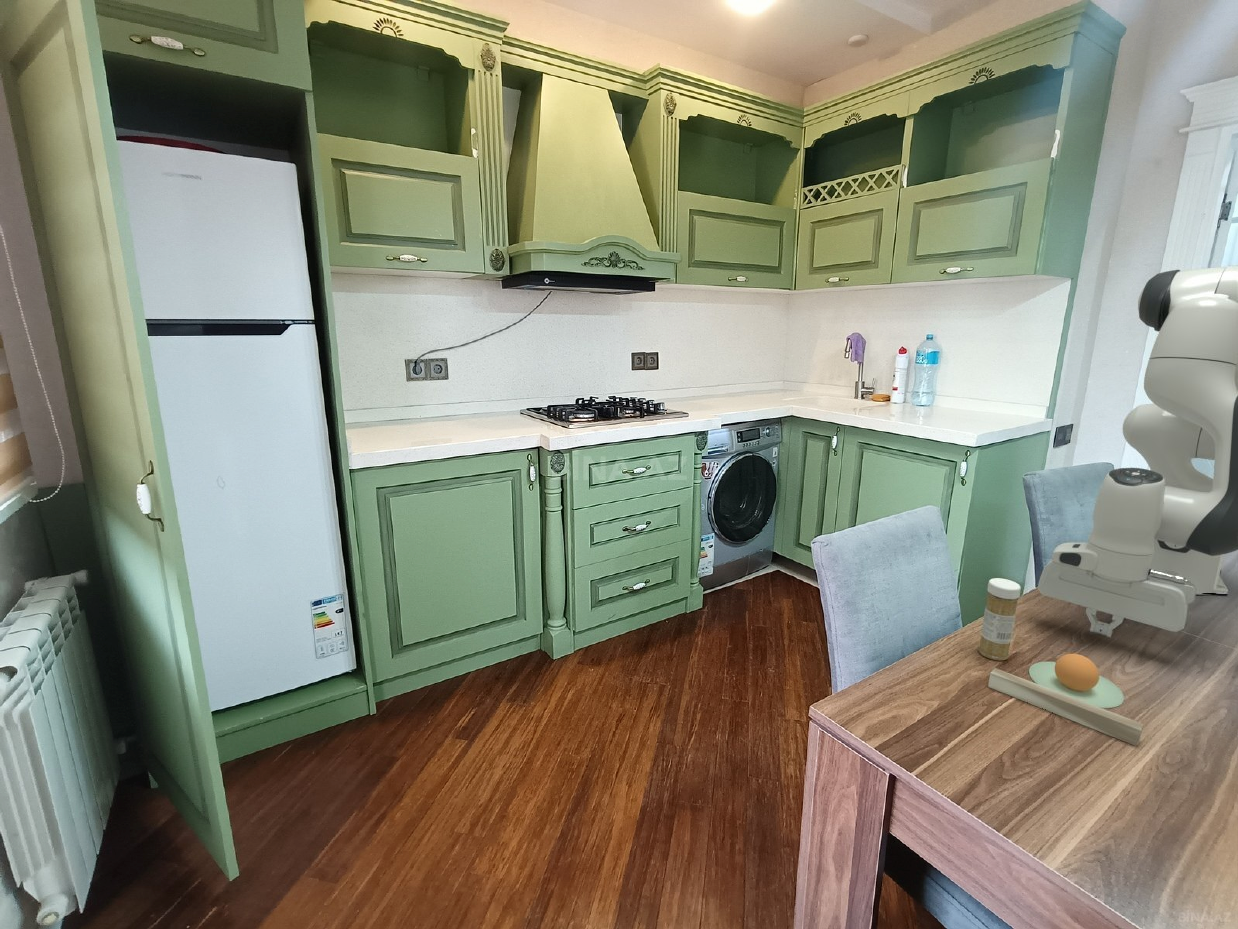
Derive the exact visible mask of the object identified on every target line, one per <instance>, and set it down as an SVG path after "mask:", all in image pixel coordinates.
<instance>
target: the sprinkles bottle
mask: <svg viewBox="0 0 1238 929" xmlns="http://www.w3.org/2000/svg"><path fill="white" fill-rule="evenodd" d="M1021 589H1022V586H1021V585H1020V584H1019V583H1017V582H1015V581H1014V580H1009V579H1006V578H1002V577H1001V578H998V577H996V578H994V577H993V578H991V579H989V581H988V584H987V598H986V603H985V604H986V605H985V608H984V615H983V619H982V626H981V634H980V635H981V636H980V642H979V645H978V649H977V650H978V652H979V653H980V654H981V655H982V656H984V657H986V658H987V659H989V660H994V661H999V662H1000V661H1005V660H1008V659H1009V657H1010V656H1009V650H1010V646H1011V642H1012V638H1013V631H1014V627H1015V621H1016V612H1017V606H1018V600H1019V598H1020V595H1021Z"/></svg>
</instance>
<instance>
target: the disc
mask: <svg viewBox="0 0 1238 929" xmlns="http://www.w3.org/2000/svg"><path fill="white" fill-rule="evenodd" d="M1056 662H1057V661H1039V662H1035V663H1034V664H1032V665H1030V666H1029V670H1028V673H1029V674H1028V675H1029V677H1030V678H1031V679H1032V682H1033V683H1036V684H1039V685H1041V686H1044V687H1047V688H1049V689H1052V690H1055V691H1057V692H1060V693H1063V694H1065V695H1068V696H1070V697H1073V698H1076V699H1078V700H1081V701H1084V702H1086V703H1089V704H1092V705H1094V706H1097V707H1100V708H1102V709H1113V708H1117V707H1119V706H1122V704H1123V703H1124V700H1125V696H1124V694H1123V692H1122V691H1121V689H1120V688H1119V687H1118V686H1117V685H1116V684H1115V683H1113V682H1112V681H1110V680H1109V679H1108V678H1105V677H1104V676H1102V675H1100V674H1099V681H1098V683H1097V685H1096V686H1095V687H1093V688H1092V689H1090V690H1086V691H1076V690H1073V689H1070V688H1068V687H1066V686H1065V685H1063V684H1062V683H1061V682H1060V681H1059V679H1058V678H1057V676H1056V674H1055V664H1056Z"/></svg>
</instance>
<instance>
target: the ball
mask: <svg viewBox="0 0 1238 929" xmlns="http://www.w3.org/2000/svg"><path fill="white" fill-rule="evenodd" d="M1055 662H1056V664H1055V674H1056V676H1057V678H1058V679H1059V681H1060V682H1061V683H1062V684H1063V685H1065V686H1066V687H1068V688H1070V689H1073V690H1076V691H1086V690H1090V689H1092V688H1093V687H1095V686H1096V685H1097V683H1098V681H1099V675H1100V672H1099V668H1098V666H1096V664H1095V663H1094V662H1093V661H1092V660H1091V659H1089V657H1086V656H1085V655H1081V654H1078V653H1066V654H1064V655H1061V656H1060V657H1058V659H1056V661H1055Z"/></svg>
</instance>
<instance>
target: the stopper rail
mask: <svg viewBox="0 0 1238 929" xmlns="http://www.w3.org/2000/svg"><path fill="white" fill-rule="evenodd" d="M987 688H990V689H993V690H995V691H997V692H1000V693H1002V694H1005V695H1007V696H1010V697H1013V698H1015V699H1018V700H1019V701H1023V702H1025V703H1027V702H1028V704H1030V705H1032V706H1035V707H1037V708H1040V709H1042V708H1043V709H1042V710H1045V709H1046V710H1045V711H1047V712H1050V713H1052V712H1053V713H1052V714H1055V715H1057V716H1060V717H1062V718H1064V719H1067V720H1070V721H1073V722H1075V723H1077V724H1080V725H1082V726H1084V727H1087V728H1089V729H1092V730H1095V731H1098V732H1100V733H1102V734H1105V735H1107V736H1110V737H1112V738H1114V739H1117V740H1120V741H1122V742H1125V743H1127V744H1129V745H1132V746H1134V747H1138V746H1139V743H1140V739H1141V736H1142V732H1143V728H1144V723H1142V722H1139V721H1136V720H1134V719H1131V718H1128V717H1126V716H1123V715H1120V714H1118V713H1115V712H1113V711H1110V710H1109V709H1108V710H1107V709H1106V708H1100V707H1097V706H1094V705H1092V704H1089V703H1086V702H1084V701H1081V700H1078V699H1076V698H1073V697H1070V696H1068V695H1065V694H1063V693H1060V692H1057V691H1055V690H1052V689H1049V688H1047V687H1044V686H1041V685H1039V684H1036V683H1035V682H1034V681H1031V680H1028V679H1025V678H1024V677H1019V676H1017V675H1014V674H1012V673H1009V672H1007V671H1004V670H1002V669H999V668H996V667H995V668H993V669H992V671H990V673H989V680H988V684H987Z"/></svg>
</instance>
